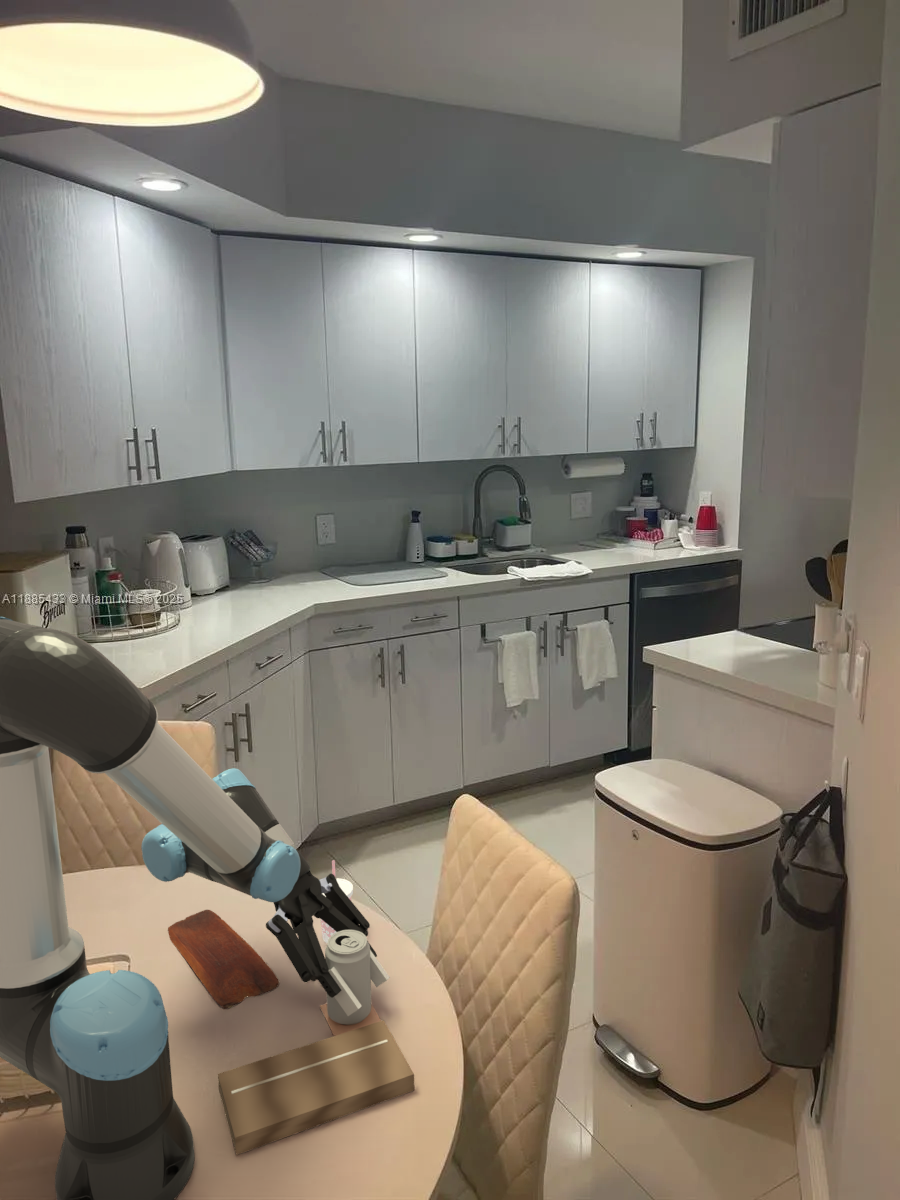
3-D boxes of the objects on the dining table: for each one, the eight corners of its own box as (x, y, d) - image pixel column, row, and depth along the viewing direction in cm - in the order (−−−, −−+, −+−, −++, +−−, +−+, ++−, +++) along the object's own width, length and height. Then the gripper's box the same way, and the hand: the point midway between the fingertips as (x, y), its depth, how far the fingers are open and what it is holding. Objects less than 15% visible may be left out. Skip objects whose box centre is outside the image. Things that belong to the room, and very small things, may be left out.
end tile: (334, 1038, 122) (334, 1036, 122) (320, 1007, 128) (320, 1005, 128) (381, 1023, 125) (381, 1021, 125) (364, 993, 131) (364, 991, 131)
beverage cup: (341, 951, 141) (338, 874, 138) (310, 941, 144) (306, 865, 141) (361, 931, 146) (359, 856, 143) (331, 921, 149) (328, 848, 146)
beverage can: (345, 993, 131) (342, 922, 128) (380, 1008, 128) (378, 935, 125) (318, 1018, 126) (315, 945, 123) (354, 1034, 122) (351, 959, 120)
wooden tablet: (284, 988, 133) (283, 979, 133) (222, 1016, 128) (221, 1006, 127) (216, 908, 154) (215, 900, 154) (160, 929, 148) (159, 920, 148)
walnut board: (236, 1155, 104) (234, 1137, 103) (218, 1089, 113) (217, 1073, 113) (414, 1090, 113) (413, 1073, 112) (384, 1035, 123) (383, 1019, 122)
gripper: (304, 846, 138) (391, 968, 134) (216, 907, 122) (312, 1048, 118) (329, 823, 134) (420, 949, 130) (242, 883, 118) (343, 1028, 114)
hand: (369, 996), depth 124 cm, fingers closed on beverage can, 6 cm apart
